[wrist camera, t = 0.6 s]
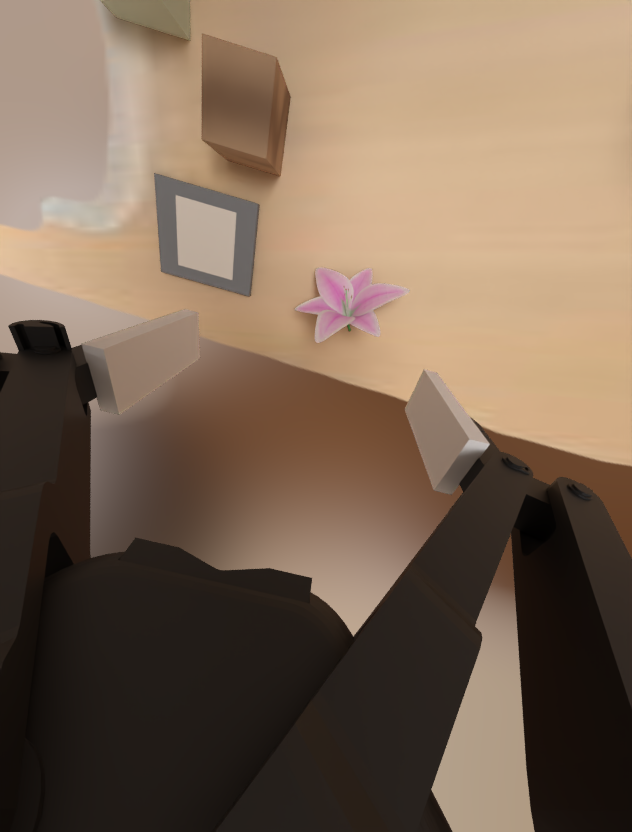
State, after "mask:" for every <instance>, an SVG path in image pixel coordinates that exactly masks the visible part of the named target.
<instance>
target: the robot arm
mask: <svg viewBox="0 0 632 832" xmlns="http://www.w3.org/2000/svg"><path fill="white" fill-rule="evenodd" d="M9 329H10V331H11V333H12V335H13V338H14V340H15V343H16V345H17V347H18V350H19V352H18V354H12V353H0V832H452V830H451V828H450V826H449V824H448V822H447V820H446V818H445V816H444V814H443V812H442V810H441V808H440V806H439V804H438V802H437V800H436V798H435V797H434V794H433V792H432V790H431V788H432V786H433V783H434V780H435V777H436V774H437V771H438V768H439V765H440V763H441V760H442V757H443V754H444V751H445V748H446V745H447V742H448V739H449V737H450V734H451V731H452V728H453V725H454V722H455V719H456V717H457V714H458V711H459V708H460V705H461V702H462V699H463V696H464V693H465V690H466V688H467V685H468V682H469V679H470V676H471V673H472V670H473V668H474V665H475V662H476V659H477V656H478V653H479V650H480V646H481V642H482V634H481V632H480V631H479V630H478V629H477V628H476V627H475V624H476V621H477V618H478V616H479V613H480V610H481V608H482V605H483V603H484V600H485V598H486V595H487V593H488V590H489V588H490V585H491V583H492V580H493V577H494V575H495V572H496V570H497V567H498V565H499V562H500V560H501V557H502V554H503V552H504V549H505V547H506V544H507V542H508V539H509V537H510V534H511V539H512V553H513V569H514V582H515V584H514V585H515V600H516V614H517V630H518V646H519V660H520V676H521V690H522V706H523V722H524V737H525V753H526V766H527V767H526V768H527V778H528V787H529V796H530V806H531V813H532V819H533V824H534V830H535V832H632V559H631V557H630V555H629V553H628V551H627V549H626V547H625V545H624V543H623V541H622V539H621V537H620V535H619V533H618V531H617V529H616V527H615V525H614V523H613V521H612V519H611V518H610V516H609V513H608V512H607V509H606V508H605V506H604V504H603V502H602V501H601V499H600V498H599V497H598V496H597V495H596V494H595V493H593V491H592V490H591V489H590V488H587V487H586V486H585V485H583V484H581V483H578V482H576V481H574V480H571V479H568V478H564V477H559V478H557V479H556V480H555V481H554V482H553V483H552V484H551V485H549V484H546V483H544V482H542V481H539V480H537V479H535V478H533V472H532V470H531V469H530V468H529V467H528V466H527V465H526V464H525V463H524V462H522V461H521V460H519V459H518V458H516V457H514V456H512V455H510V454H506V453H504V452H500V451H499V449H498V448H497V447H496V445H495V444H494V443H493V442H492V440H491V439H490V438H489V436H488V435H487V434H486V433H485V431H484V430H483V428H482V427H481V426H480V424H478V423H477V422H476V421H475V420H473V419H472V418H470V417H469V415H468V414H467V412H466V411H465V410H464V408H463V407H462V406H461V404H460V403H459V402H458V400H457V399H456V398H455V396H454V395H453V394H452V392H451V391H450V390H449V388H448V387H447V385H446V384H445V383H444V381H443V380H442V379H441V377H440V376H439V375H438V373H437V372H433V371H429V370H425V369H424V370H423V372H422V374H421V376H420V378H419V381H418V383H417V385H416V387H415V389H414V391H413V393H412V395H411V397H410V399H409V401H408V404H407V406H406V408H405V411H406V414H407V416H408V419H409V422H410V425H411V428H412V431H413V434H414V436H415V439H416V442H417V445H418V448H419V450H420V453H421V456H422V459H423V461H424V464H425V467H426V470H427V473H428V475H429V478H430V481H431V484H432V486H433V489H434V490H435V491H438V492H442V493H446V494H452V493H453V492H454V491H455V490H456V488H457V487H458V486H459V484H460V486H461V488H462V490H463V493H462V495H461V496H460V497H459V499H458V500H457V501H456V502H455V504H454V505H453V506H452V507H451V509H450V510H449V512H448V513H447V514H446V516H445V517H444V519H443V520H442V521H441V522H440V524H439V525H438V526H437V528H436V529H435V530H434V531H433V533H432V534H431V536H430V537H429V538H428V539H427V541H426V542H425V544H424V545H423V546H422V547H421V549H420V550H419V551H418V553H417V554H416V555H415V557H414V558H413V559H412V561H411V562H410V563H409V564H408V566H407V567H406V569H405V570H404V571H403V572H402V574H401V575H400V576H399V578H398V579H397V580H396V582H395V583H394V585H393V586H392V587H391V588H390V590H389V591H388V592H387V594H386V595H385V596H384V598H383V599H382V600H381V601H380V603H379V604H378V605H377V607H376V608H375V609H374V611H373V612H372V614H371V615H370V616H369V617H368V619H367V620H366V621H365V623H364V624H363V625H362V626H361V628H360V629H359V630H358V632H357V633H356V634H355V635H354V637H353V635H352V634H351V632H350V631H349V629H348V628H347V626H346V625H345V623H344V622H343V620H342V619H341V618H340V617H339V615H338V614H337V613H336V612H335V611H334V610H333V609H332V608H331V607H330V606H329V605H328V604H327V603H326V602H324V601H323V600H322V599H320V598H319V597H318V596H316V595H314V594H313V593H311V592H310V591H311V583H312V578H309V577H304V576H301V575H296V574H292V573H288V572H283V571H278V570H274V569H270V568H266V569H246V570H225V571H223V570H218V569H216V568H214V567H212V566H210V565H208V564H207V563H205V562H203V561H201V560H200V559H198V558H196V557H195V556H193V555H191V554H189V553H188V552H186V551H184V550H183V549H181V548H179V547H174V546H170V545H165V544H161V543H157V542H152V541H148V540H143V539H139V538H135V540H134V541H133V542H132V543H131V545H130V546H129V547H128V549H127V550H126V551H125V552H118V553H111V554H105V555H102V556H97V557H93V558H91V555H90V461H91V460H90V459H91V457H90V456H91V455H90V452H91V450H90V449H91V438H90V437H91V410H90V406H89V403H88V402H89V401H91V400H93V399H95V398H96V397H97V400H98V404H99V407H100V410H101V411H106V412H109V413H114V414H118V415H120V414H121V413H123V412H124V411H126V410H127V409H128V408H130V407H131V406H133V405H134V404H135V403H137V402H138V401H140V400H141V399H143V398H144V397H145V396H147V395H148V394H150V393H151V392H153V391H154V390H156V389H157V388H158V387H160V386H161V385H163V384H164V383H166V382H167V381H168V380H170V379H171V378H173V377H174V376H176V375H177V374H178V373H180V372H181V371H183V370H184V369H186V368H187V367H188V366H190V365H191V364H193V363H194V362H196V361H197V360H199V359H200V343H199V312H195V311H191V310H187V309H184V310H181V311H178V312H175V313H172V314H169V315H166V316H163V317H160V318H157V319H154V320H151V321H148V322H145V323H142V324H139V325H136V326H133V327H130V328H127V329H124V330H121V331H118V332H115V333H112V334H109V335H106V336H103V337H100V338H97V339H94V340H91V341H88V342H85V343H82V345H80V346H76V347H74V348H71V345H70V342H69V339H68V335H67V333H66V329H65V326H64V325H63V324H60V323H58V322H52V321H44V320H28V321H19V322H15V323H12V324H11V325H9Z"/></svg>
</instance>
